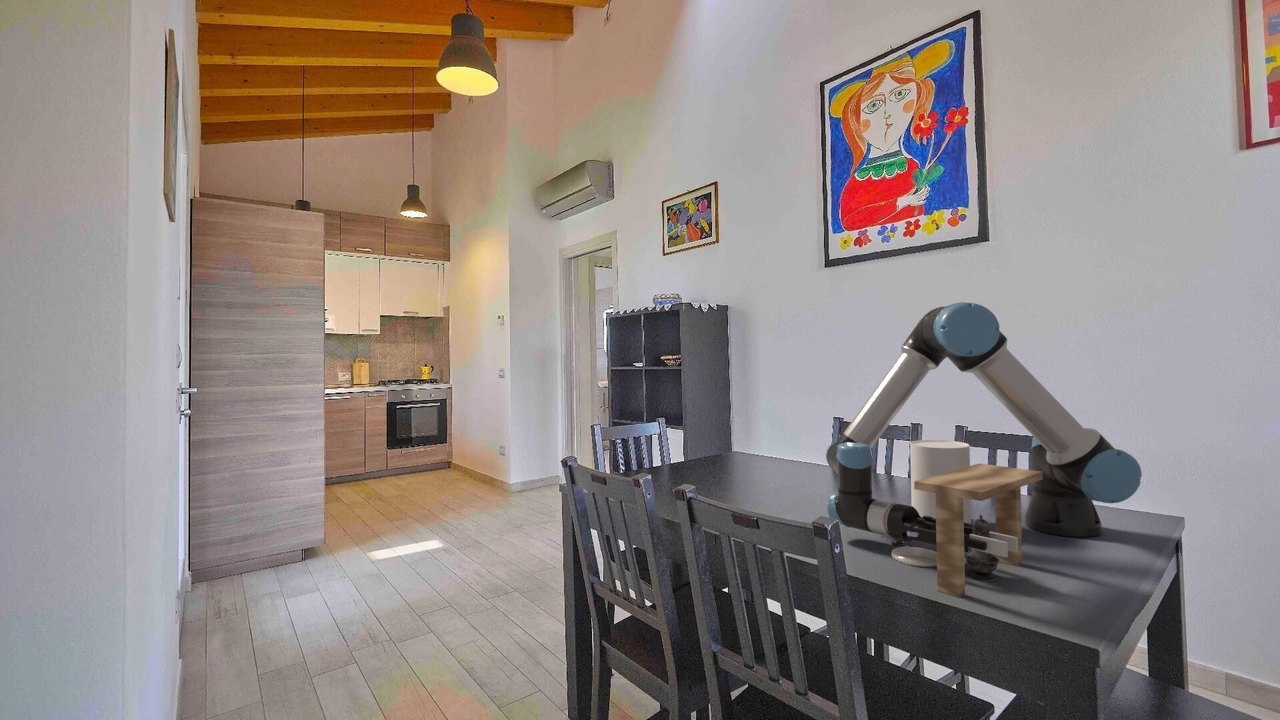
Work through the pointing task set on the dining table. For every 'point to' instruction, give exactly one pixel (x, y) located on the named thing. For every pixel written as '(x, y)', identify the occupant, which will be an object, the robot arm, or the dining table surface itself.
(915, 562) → the coaster
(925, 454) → the canister
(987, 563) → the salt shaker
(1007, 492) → the wooden stool
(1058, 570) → the dining table surface
